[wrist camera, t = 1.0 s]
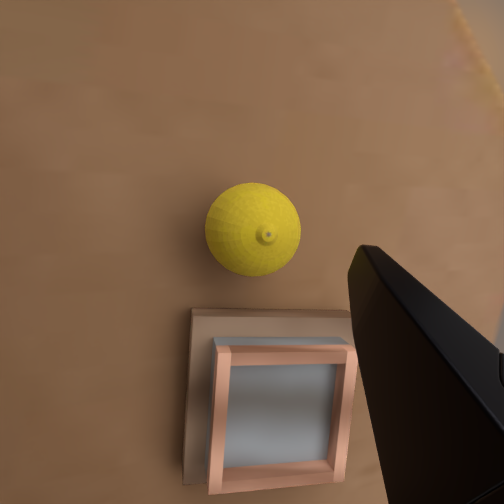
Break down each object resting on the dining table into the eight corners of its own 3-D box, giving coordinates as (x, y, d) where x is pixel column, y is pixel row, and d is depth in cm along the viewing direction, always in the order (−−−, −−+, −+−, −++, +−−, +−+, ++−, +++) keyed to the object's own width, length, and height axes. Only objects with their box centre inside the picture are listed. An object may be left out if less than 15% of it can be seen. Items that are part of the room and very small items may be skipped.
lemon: (286, 200, 26) (335, 197, 18) (264, 273, 26) (302, 301, 19) (212, 175, 25) (231, 162, 17) (190, 253, 25) (198, 274, 17)
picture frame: (331, 452, 29) (360, 498, 25) (182, 464, 27) (184, 518, 22) (346, 310, 28) (380, 330, 24) (191, 307, 25) (195, 330, 21)
